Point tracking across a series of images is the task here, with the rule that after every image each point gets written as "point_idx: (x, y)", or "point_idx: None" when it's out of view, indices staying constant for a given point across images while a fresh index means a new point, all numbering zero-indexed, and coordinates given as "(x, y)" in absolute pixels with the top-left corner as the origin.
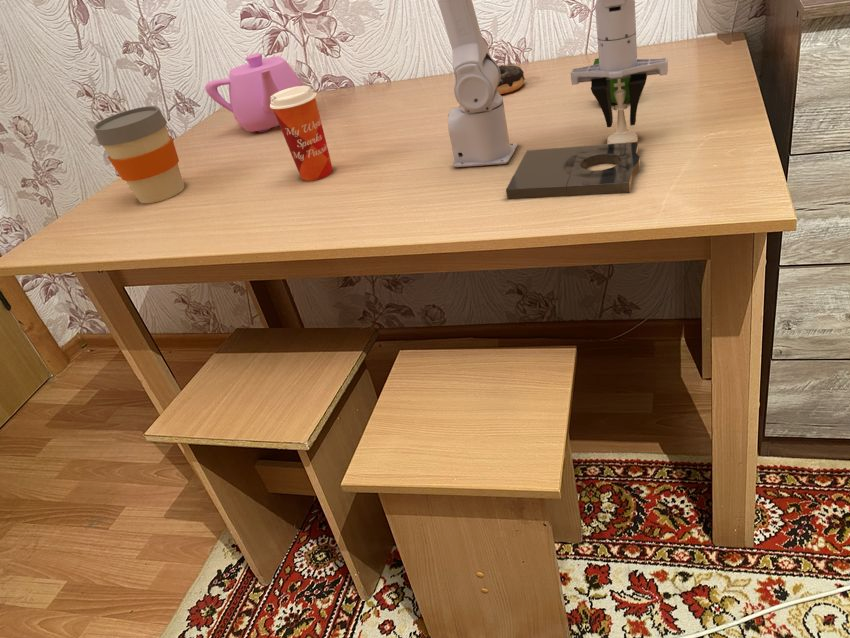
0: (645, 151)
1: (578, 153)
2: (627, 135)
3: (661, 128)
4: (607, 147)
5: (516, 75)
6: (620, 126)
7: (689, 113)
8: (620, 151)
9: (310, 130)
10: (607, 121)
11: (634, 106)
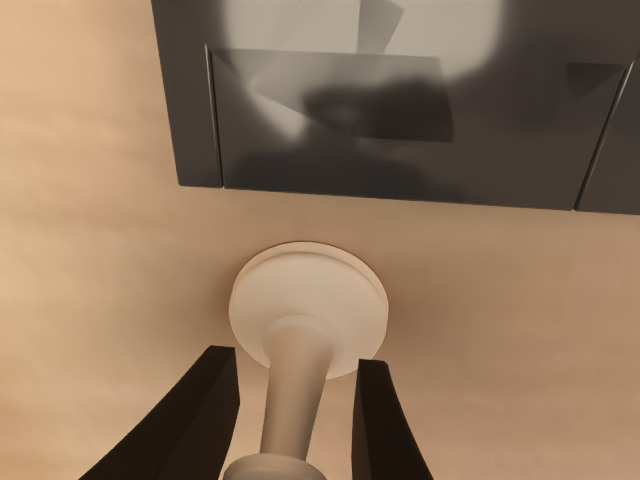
0: (160, 150)
1: (630, 63)
2: (271, 311)
3: (152, 389)
4: (383, 134)
5: None
6: (300, 357)
7: (85, 470)
8: (276, 22)
9: None
10: (383, 387)
11: (131, 450)
